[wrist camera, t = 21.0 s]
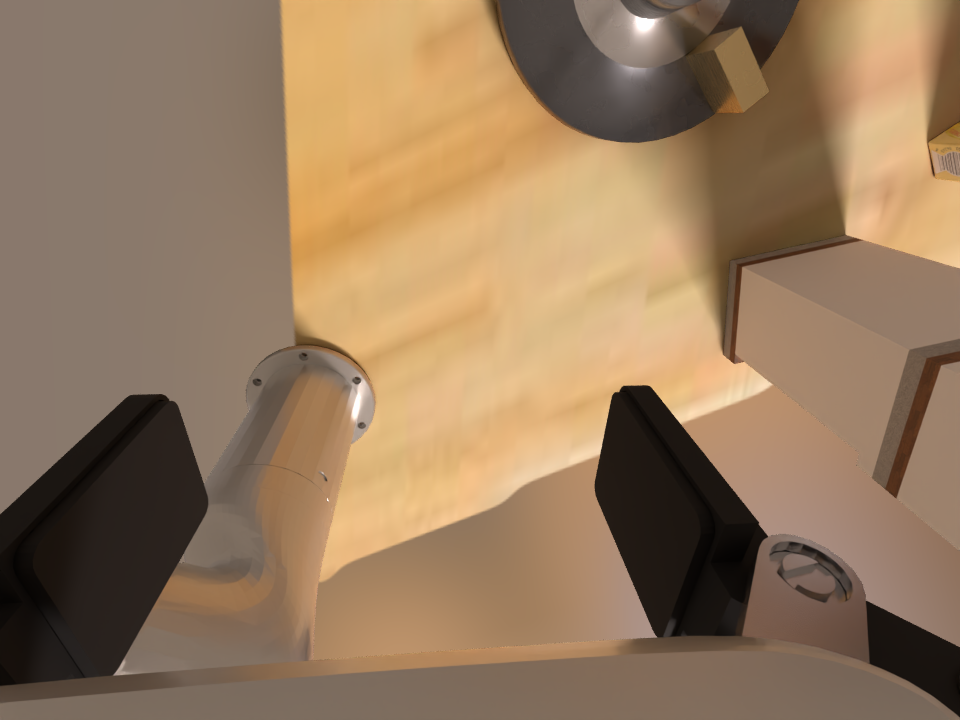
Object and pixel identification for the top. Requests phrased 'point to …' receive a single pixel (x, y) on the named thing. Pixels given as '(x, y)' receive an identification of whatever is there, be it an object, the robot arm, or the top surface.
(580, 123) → the turntable
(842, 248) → the tall white box
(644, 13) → the grey metallic short cylinder
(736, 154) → the top surface
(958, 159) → the candy box
